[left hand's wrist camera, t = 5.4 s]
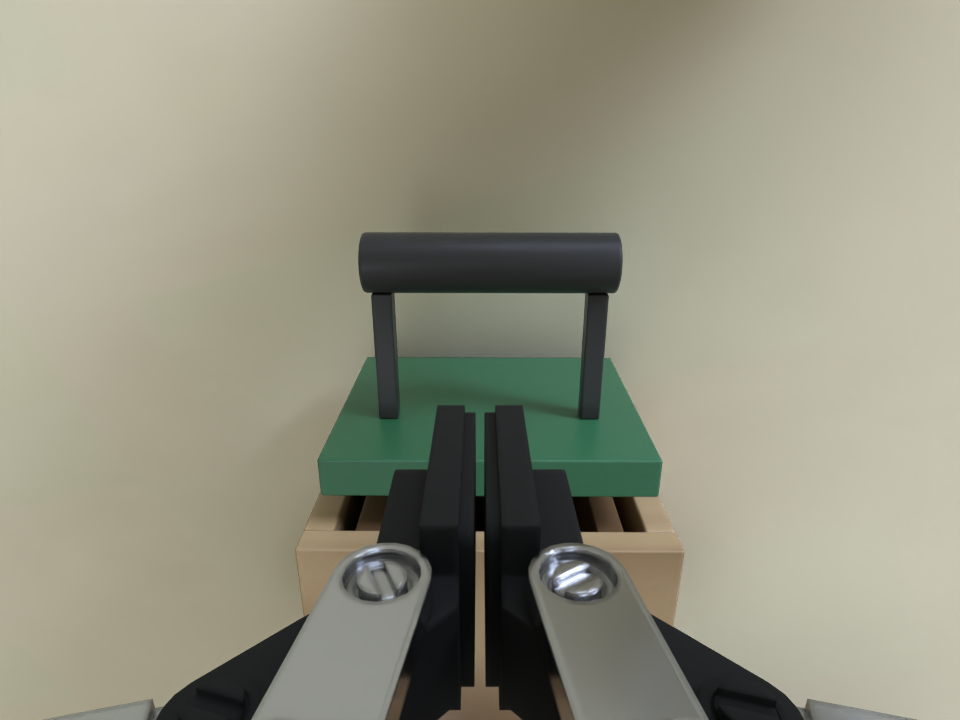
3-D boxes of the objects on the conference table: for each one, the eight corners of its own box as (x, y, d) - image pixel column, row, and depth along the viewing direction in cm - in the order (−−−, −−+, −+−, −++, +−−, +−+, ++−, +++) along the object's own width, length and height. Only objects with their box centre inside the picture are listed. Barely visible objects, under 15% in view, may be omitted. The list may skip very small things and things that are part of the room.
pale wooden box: (360, 399, 26) (294, 549, 17) (616, 400, 26) (685, 551, 17) (378, 636, 31) (334, 851, 22) (595, 637, 31) (641, 854, 22)
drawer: (356, 207, 23) (294, 253, 15) (622, 208, 22) (688, 253, 15) (383, 594, 29) (349, 756, 22) (590, 595, 29) (626, 759, 22)
